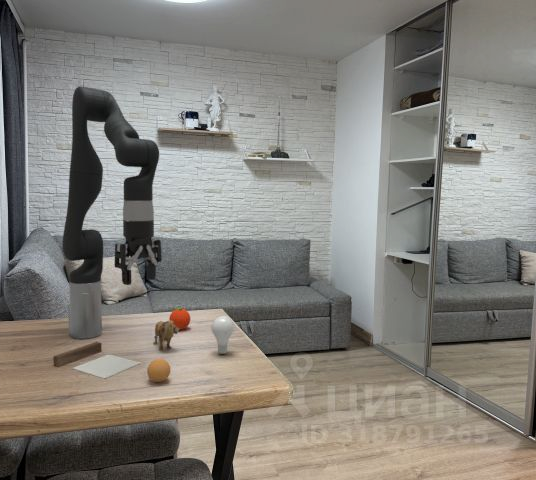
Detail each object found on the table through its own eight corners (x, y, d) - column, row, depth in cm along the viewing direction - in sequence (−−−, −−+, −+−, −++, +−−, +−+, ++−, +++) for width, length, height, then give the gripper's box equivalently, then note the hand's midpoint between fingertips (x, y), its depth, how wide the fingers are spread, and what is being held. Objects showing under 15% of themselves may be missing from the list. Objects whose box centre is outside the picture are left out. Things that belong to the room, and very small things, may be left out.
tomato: (164, 327, 159) (164, 306, 159) (183, 324, 164) (183, 304, 163) (174, 333, 153) (174, 312, 152) (194, 330, 157) (194, 309, 156)
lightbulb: (237, 352, 137) (238, 315, 136) (226, 359, 131) (227, 320, 130) (218, 348, 139) (219, 312, 138) (207, 355, 134) (207, 317, 132)
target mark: (72, 368, 122) (72, 368, 122) (108, 355, 132) (108, 354, 132) (104, 378, 116) (104, 378, 116) (140, 363, 126) (140, 363, 126)
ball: (142, 382, 114) (142, 360, 114) (158, 375, 119) (158, 353, 119) (159, 387, 112) (159, 365, 111) (175, 379, 116) (175, 358, 116)
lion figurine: (181, 351, 137) (181, 321, 136) (163, 355, 134) (163, 323, 133) (162, 337, 149) (162, 309, 148) (145, 340, 146) (145, 311, 145)
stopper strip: (53, 365, 124) (53, 356, 124) (96, 350, 136) (96, 341, 136) (58, 366, 123) (58, 357, 123) (101, 351, 135) (101, 342, 135)
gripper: (147, 217, 128) (147, 276, 130) (106, 219, 116) (107, 284, 117) (168, 218, 124) (169, 279, 126) (128, 220, 112) (129, 288, 114)
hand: (139, 281), depth 122 cm, fingers open, 8 cm apart
